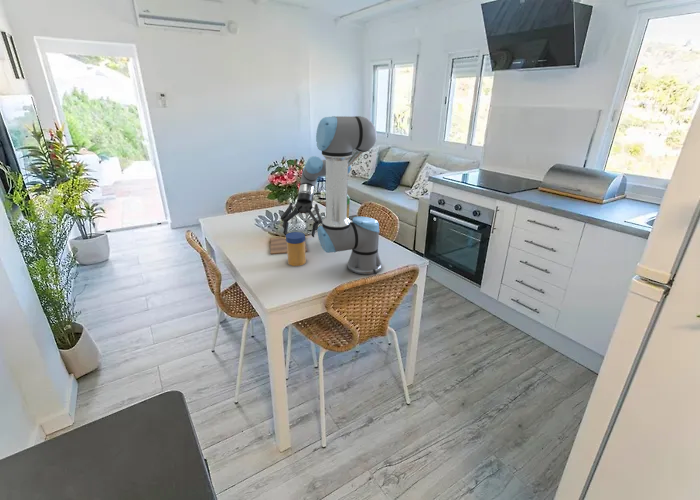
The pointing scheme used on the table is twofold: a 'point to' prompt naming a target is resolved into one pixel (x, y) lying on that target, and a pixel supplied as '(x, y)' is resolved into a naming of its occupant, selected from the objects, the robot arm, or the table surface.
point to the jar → (296, 254)
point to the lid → (295, 237)
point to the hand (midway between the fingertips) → (298, 235)
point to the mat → (280, 246)
